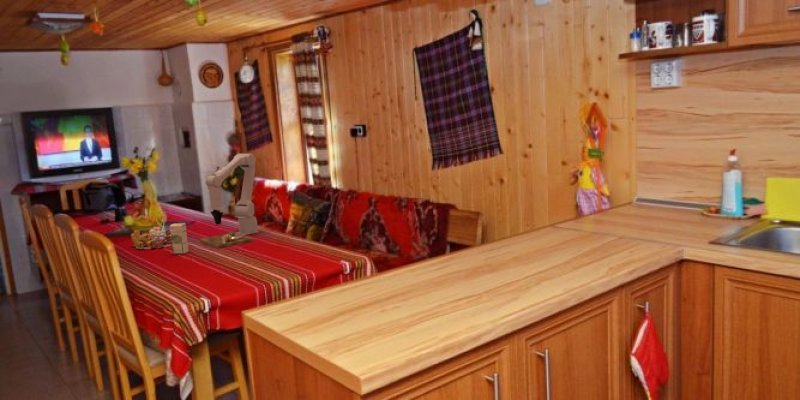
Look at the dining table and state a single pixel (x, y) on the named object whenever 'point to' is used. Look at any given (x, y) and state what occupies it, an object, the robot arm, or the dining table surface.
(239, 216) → the robot arm
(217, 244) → the base board
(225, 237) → the lever handle
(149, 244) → the candy landscape model
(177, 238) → the syrup box
